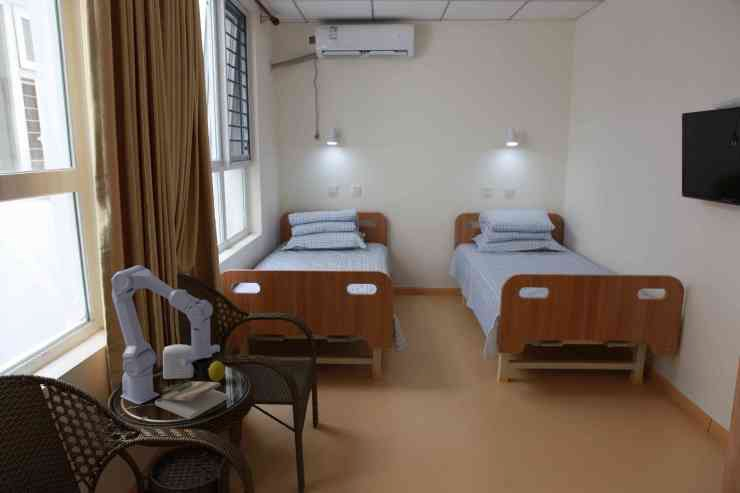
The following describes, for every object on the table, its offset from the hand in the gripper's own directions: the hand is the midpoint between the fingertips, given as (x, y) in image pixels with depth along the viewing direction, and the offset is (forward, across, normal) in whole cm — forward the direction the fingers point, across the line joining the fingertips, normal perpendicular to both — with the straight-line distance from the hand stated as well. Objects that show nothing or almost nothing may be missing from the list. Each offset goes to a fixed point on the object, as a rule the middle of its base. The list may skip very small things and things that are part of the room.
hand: (201, 379), depth 162 cm
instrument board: (+6, 0, +5) cm, 8 cm away
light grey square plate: (+9, 0, +4) cm, 10 cm away
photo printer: (+10, +10, +22) cm, 26 cm away
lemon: (+10, +15, +8) cm, 20 cm away
